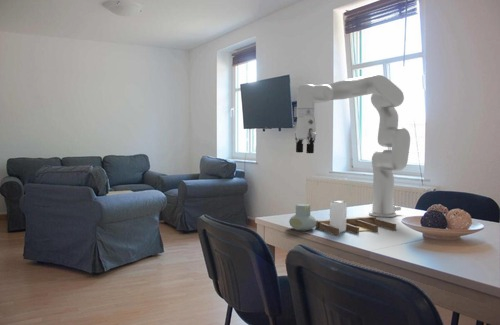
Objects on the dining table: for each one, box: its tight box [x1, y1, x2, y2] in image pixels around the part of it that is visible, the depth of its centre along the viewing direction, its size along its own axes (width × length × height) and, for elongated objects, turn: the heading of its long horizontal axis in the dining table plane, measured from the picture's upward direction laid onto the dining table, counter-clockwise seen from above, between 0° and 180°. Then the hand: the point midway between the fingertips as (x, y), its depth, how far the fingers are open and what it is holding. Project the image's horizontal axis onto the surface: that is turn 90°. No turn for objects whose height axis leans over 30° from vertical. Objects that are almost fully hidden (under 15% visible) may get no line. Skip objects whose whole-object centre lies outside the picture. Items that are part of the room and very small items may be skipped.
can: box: [329, 199, 348, 233], centre depth 161 cm, size 6×6×12 cm
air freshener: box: [288, 203, 317, 232], centre depth 163 cm, size 11×8×10 cm
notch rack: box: [314, 215, 397, 237], centre depth 165 cm, size 29×15×3 cm, turn 111°
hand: (304, 152), depth 176 cm, fingers open, 9 cm apart
